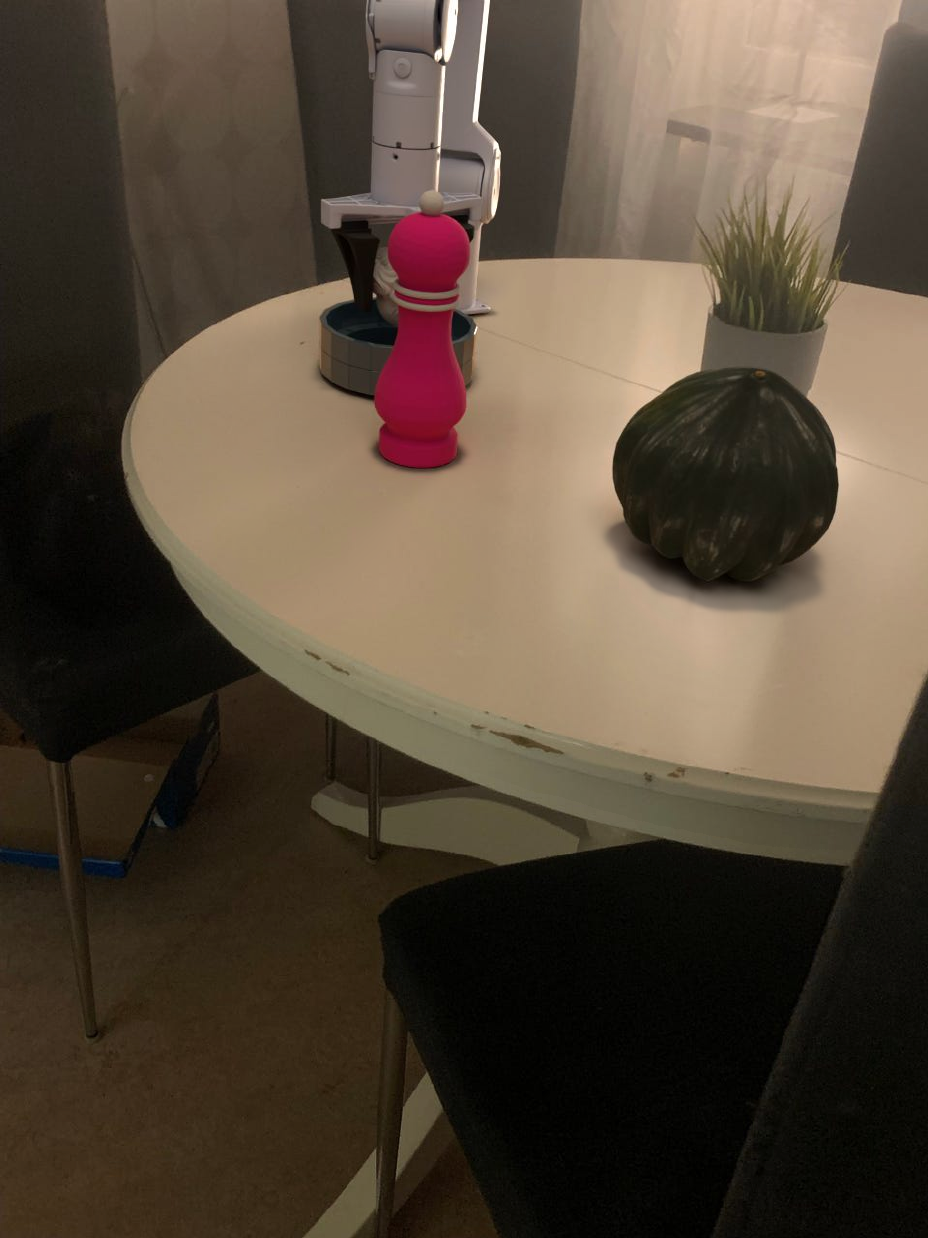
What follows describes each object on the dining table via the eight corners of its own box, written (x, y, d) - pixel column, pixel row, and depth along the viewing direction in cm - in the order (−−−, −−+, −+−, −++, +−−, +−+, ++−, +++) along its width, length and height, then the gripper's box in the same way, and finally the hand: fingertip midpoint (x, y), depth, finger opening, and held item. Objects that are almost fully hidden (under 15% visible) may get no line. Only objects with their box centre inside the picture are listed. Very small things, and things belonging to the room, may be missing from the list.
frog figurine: (354, 316, 100) (356, 238, 96) (427, 314, 102) (431, 238, 98) (370, 338, 95) (372, 257, 91) (446, 336, 97) (451, 256, 93)
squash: (699, 411, 84) (664, 292, 71) (882, 482, 77) (881, 364, 64) (603, 561, 82) (549, 468, 69) (781, 648, 75) (759, 562, 62)
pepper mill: (452, 477, 83) (472, 207, 72) (361, 463, 84) (368, 194, 73) (470, 440, 89) (492, 186, 78) (385, 427, 90) (395, 174, 79)
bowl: (296, 356, 103) (295, 304, 100) (428, 341, 109) (431, 291, 106) (358, 412, 93) (360, 355, 90) (500, 392, 99) (505, 339, 96)
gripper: (346, 154, 84) (343, 326, 91) (505, 150, 90) (490, 311, 98) (310, 137, 89) (311, 301, 96) (464, 134, 95) (453, 288, 103)
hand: (399, 305), depth 97 cm, fingers closed on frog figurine, 7 cm apart
